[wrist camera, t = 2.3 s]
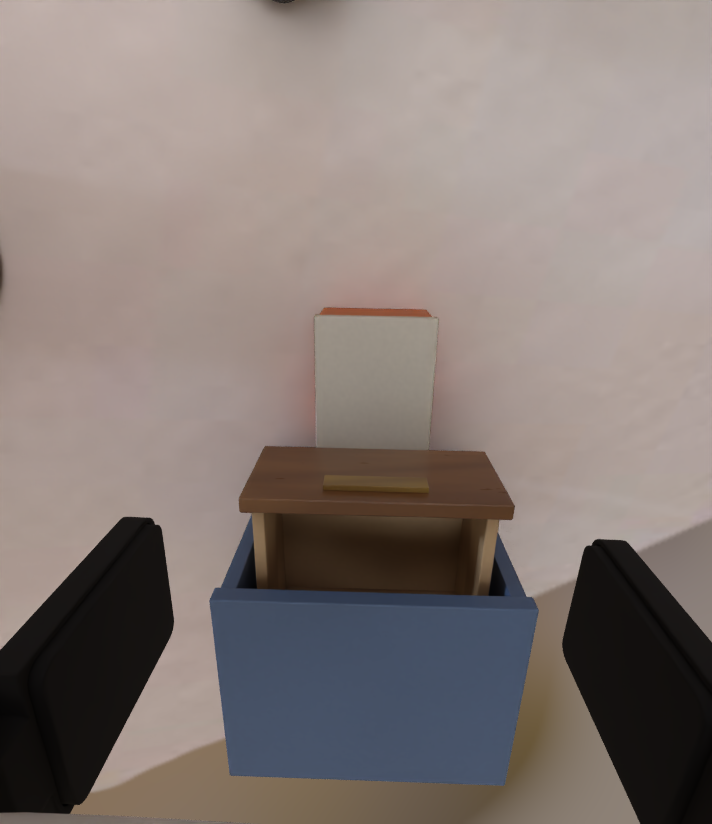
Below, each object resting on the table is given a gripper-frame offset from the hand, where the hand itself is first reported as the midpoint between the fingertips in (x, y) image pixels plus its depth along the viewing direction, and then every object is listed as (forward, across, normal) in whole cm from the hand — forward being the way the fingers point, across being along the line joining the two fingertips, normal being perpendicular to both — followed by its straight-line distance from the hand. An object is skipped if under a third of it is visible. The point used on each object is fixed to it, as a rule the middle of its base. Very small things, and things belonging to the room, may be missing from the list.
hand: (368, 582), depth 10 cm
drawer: (+16, 0, +9) cm, 18 cm away
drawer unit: (+26, 0, +15) cm, 30 cm away
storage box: (+26, 0, +2) cm, 26 cm away
